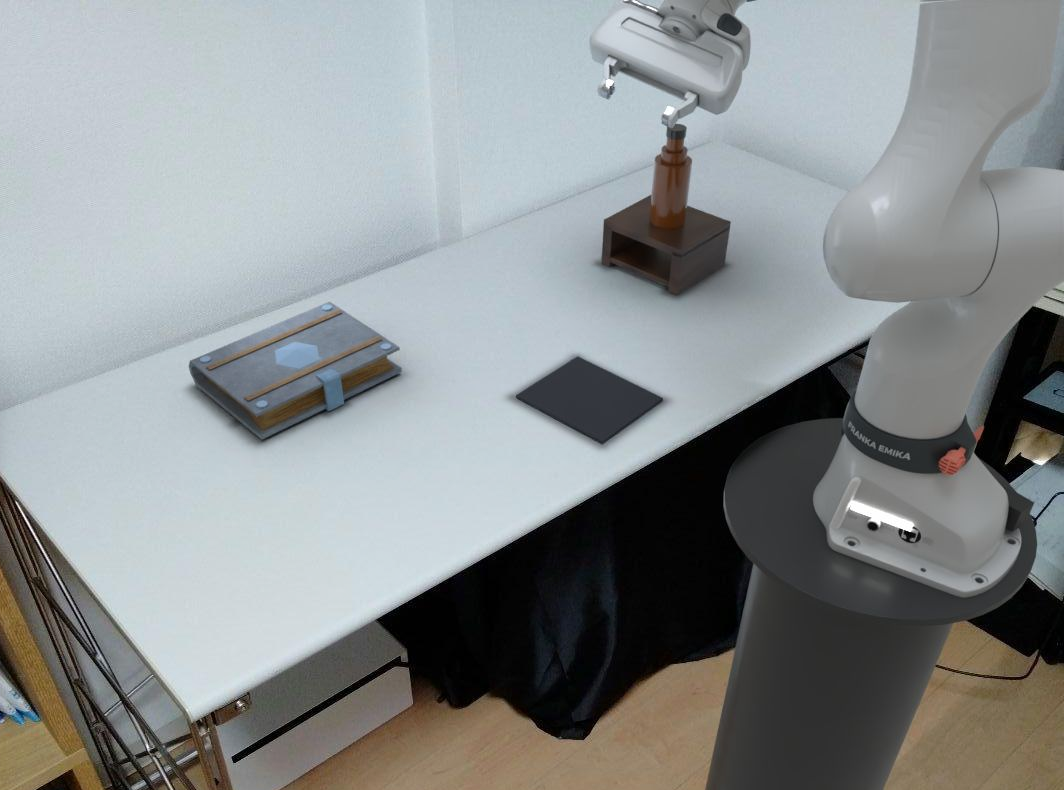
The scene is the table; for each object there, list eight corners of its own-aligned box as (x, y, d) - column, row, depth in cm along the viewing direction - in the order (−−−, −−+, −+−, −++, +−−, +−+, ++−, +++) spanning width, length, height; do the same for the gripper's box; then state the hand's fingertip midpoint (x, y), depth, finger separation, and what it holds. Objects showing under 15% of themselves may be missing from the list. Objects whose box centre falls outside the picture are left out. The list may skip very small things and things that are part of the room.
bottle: (692, 220, 150) (703, 126, 141) (671, 232, 147) (680, 138, 138) (663, 209, 153) (672, 116, 144) (642, 221, 150) (649, 127, 141)
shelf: (724, 265, 155) (731, 221, 150) (676, 295, 148) (682, 250, 143) (649, 235, 162) (653, 192, 157) (601, 263, 155) (603, 219, 150)
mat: (662, 400, 130) (663, 398, 129) (602, 444, 123) (602, 441, 123) (577, 358, 136) (577, 356, 136) (515, 397, 130) (515, 395, 130)
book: (329, 325, 142) (325, 293, 139) (403, 375, 133) (400, 342, 130) (193, 385, 132) (184, 351, 128) (264, 444, 123) (256, 409, 120)
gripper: (619, -24, 132) (562, 61, 131) (761, 34, 127) (703, 124, 126) (623, 11, 138) (568, 93, 137) (759, 69, 133) (703, 155, 132)
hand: (634, 109), depth 131 cm, fingers open, 8 cm apart
